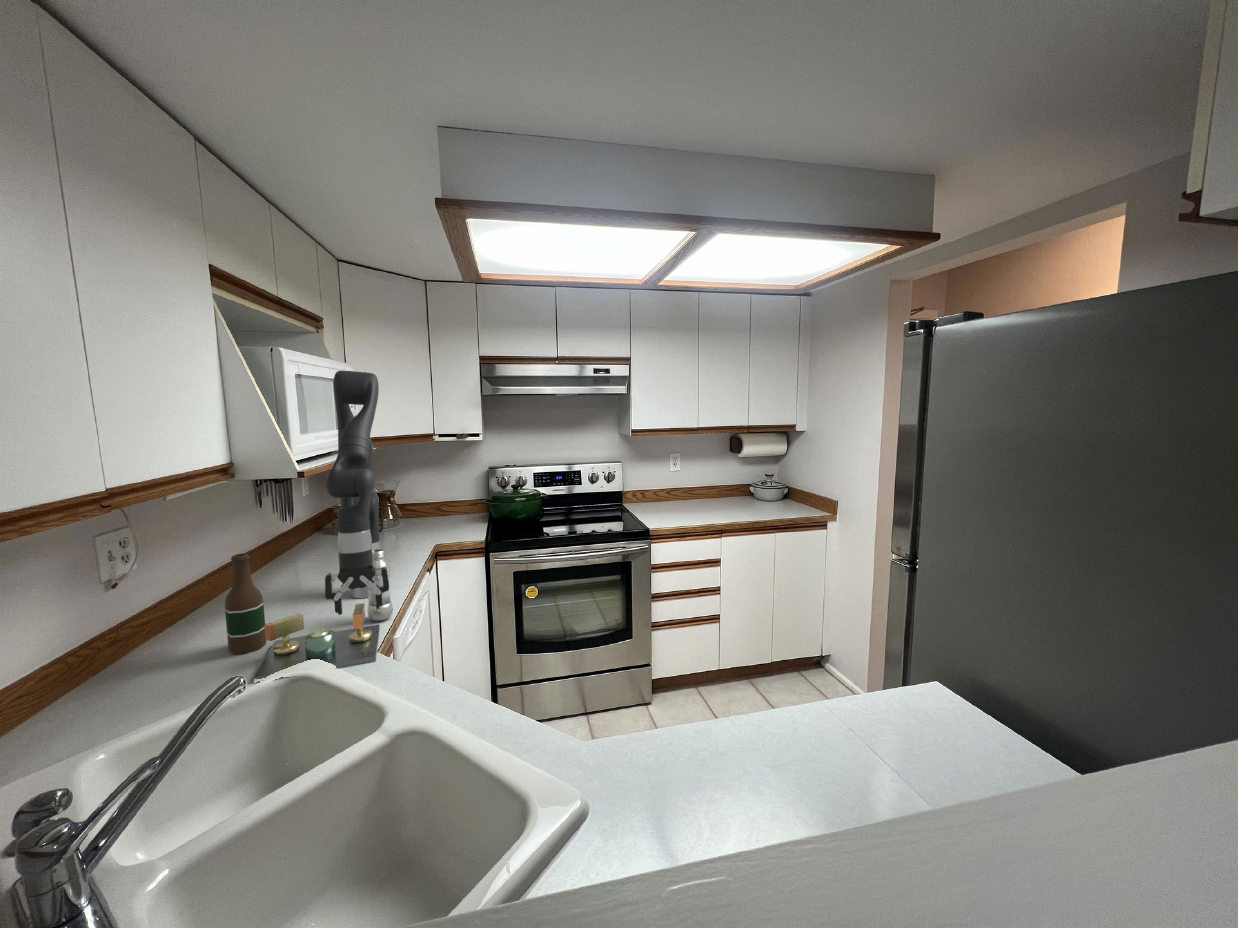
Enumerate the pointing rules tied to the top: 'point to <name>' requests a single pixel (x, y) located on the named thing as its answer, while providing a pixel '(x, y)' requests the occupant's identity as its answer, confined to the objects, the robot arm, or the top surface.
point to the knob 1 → (284, 633)
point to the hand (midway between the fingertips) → (359, 610)
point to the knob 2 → (359, 625)
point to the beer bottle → (244, 610)
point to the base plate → (338, 659)
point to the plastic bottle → (386, 608)
